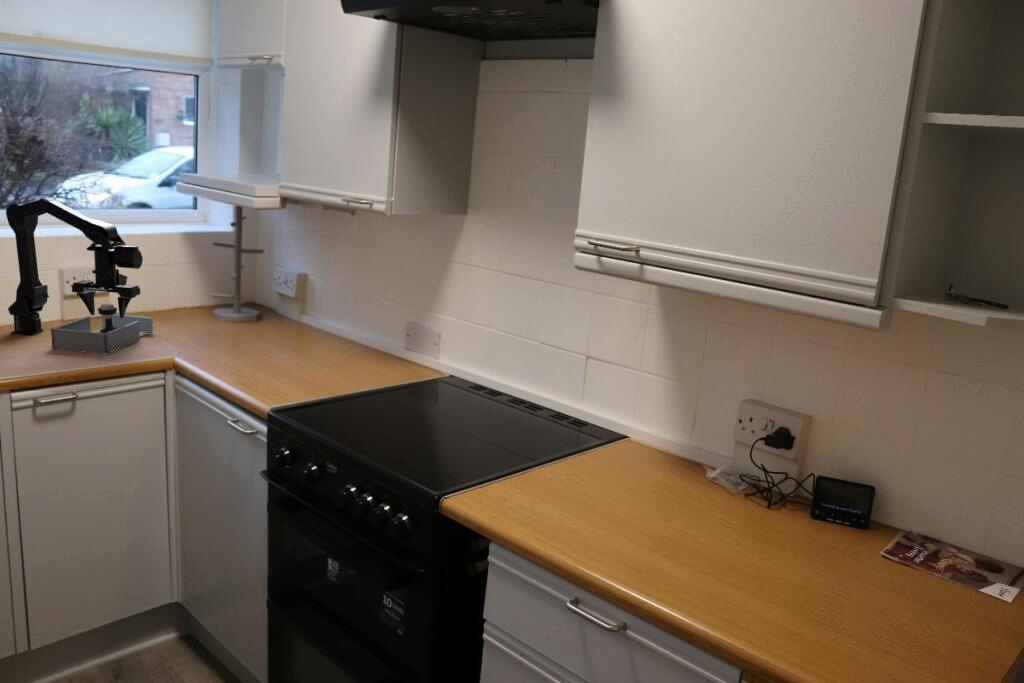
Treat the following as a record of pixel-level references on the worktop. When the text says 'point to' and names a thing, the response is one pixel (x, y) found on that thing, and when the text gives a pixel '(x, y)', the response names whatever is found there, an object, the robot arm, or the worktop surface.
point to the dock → (92, 337)
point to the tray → (144, 322)
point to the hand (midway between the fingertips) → (107, 316)
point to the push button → (107, 317)
